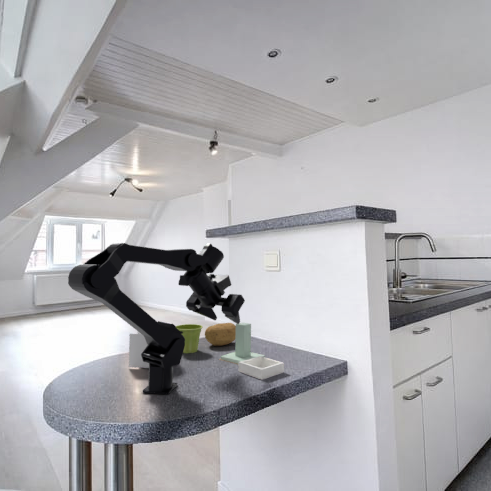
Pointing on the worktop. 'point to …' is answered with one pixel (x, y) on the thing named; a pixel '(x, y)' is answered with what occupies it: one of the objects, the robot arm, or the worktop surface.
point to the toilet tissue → (137, 350)
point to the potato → (221, 334)
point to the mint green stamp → (241, 345)
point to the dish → (261, 367)
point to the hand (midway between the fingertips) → (227, 320)
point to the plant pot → (190, 336)
